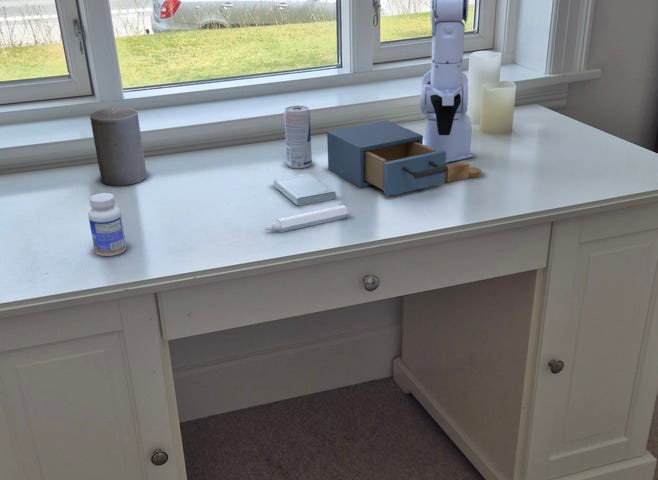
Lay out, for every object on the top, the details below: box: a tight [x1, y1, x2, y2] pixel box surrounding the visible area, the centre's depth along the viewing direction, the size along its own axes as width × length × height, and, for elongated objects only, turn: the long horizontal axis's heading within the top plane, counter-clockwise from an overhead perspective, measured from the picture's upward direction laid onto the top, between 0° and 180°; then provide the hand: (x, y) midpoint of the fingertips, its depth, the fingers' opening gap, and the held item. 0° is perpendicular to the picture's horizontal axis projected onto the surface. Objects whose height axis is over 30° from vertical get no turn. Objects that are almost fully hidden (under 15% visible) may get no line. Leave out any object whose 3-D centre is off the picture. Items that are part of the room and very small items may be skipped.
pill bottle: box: [87, 192, 127, 257], centre depth 140 cm, size 5×5×10 cm
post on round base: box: [445, 160, 482, 183], centre depth 167 cm, size 9×3×3 cm, turn 118°
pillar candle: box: [89, 106, 148, 187], centre depth 171 cm, size 10×10×15 cm
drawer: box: [364, 141, 448, 197], centre depth 162 cm, size 18×13×6 cm
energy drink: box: [283, 105, 313, 169], centre depth 176 cm, size 5×5×12 cm
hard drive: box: [273, 173, 337, 206], centre depth 163 cm, size 2×8×12 cm
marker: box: [264, 204, 349, 233], centre depth 149 cm, size 3×2×16 cm
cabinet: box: [326, 120, 424, 189], centre depth 171 cm, size 14×15×8 cm
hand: (444, 134), depth 159 cm, fingers closed
